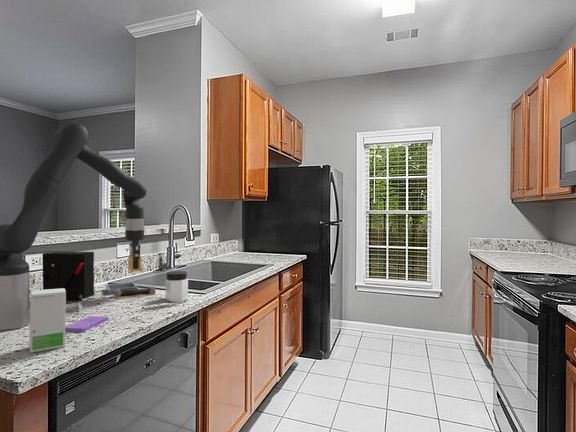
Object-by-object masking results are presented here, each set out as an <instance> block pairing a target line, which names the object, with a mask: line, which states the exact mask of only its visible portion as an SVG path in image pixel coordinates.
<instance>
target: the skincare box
mask: <svg viewBox="0 0 576 432" xmlns="http://www.w3.org/2000/svg"><path fill="white" fill-rule="evenodd" d="M29 294H30V323H29V334H28V335H29V339H28V341H29V342H28V343H29V353H32V354H33V353H37V352H42V351H48V350H54V349H60V348H61V347H62V348H65V347H66V332H65V326H66V309H67V308H66V303H67V301H66V291H65V288H61V289H46V290H43V289H38V290H36V289H35V290H30V291H29ZM62 348H61V349H62Z"/></svg>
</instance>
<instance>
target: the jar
mask: <svg viewBox="0 0 576 432" xmlns="http://www.w3.org/2000/svg"><path fill="white" fill-rule="evenodd" d="M188 298H189V279H188V272H187V271H185V270H174V271H172V270H171V271H168V272H166V279H165V300H167V304H171V305H172V304H184V303H186V302H188V301H189V299H188Z"/></svg>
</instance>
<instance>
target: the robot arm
mask: <svg viewBox="0 0 576 432" xmlns="http://www.w3.org/2000/svg"><path fill="white" fill-rule="evenodd" d="M89 138H90V137H89V131H88V129H87V128H86V127H85V126H84V125H83V124H81V123H78V122H74V123H73V122H71V123H67V124H65V125H63V126H61V127H60V128H58V129H57V130H55V132H54V134H53V140H54V142H55V144H56V145H55V148H54V149H53V150H52V152H50V154H49V155H47V157H46V158H45V159H44V160H43V161H42V162H41V163H40V164H39V166H38V167H37V168H36V169H35V170H34V171H33V173H32V175H30V178H29V180H27V183H26V185H25V188H24V193H23V194H24V195H23V204H22V207H21V210H20V212H19V214H18V216H17V217H16V218H15V220H14V221H13V222H12V224H11V223H10V224H9V223H8V224H6V223H5V224H0V331H8V330H14V329H15V330H16V329H21V328H24V327H25V326H27V325H30V265H29V263H28V262H27V261H26V260H25V259H24V256H23V253H24V252H26V251H28V250H29V249H30V248H31V246H33V244H34V243H35V240H36V237H37V236H38V233H39V230H40V228H41V226H42V223H43V220H44V219H45V216H46V215H47V213H48V212H49V209H50V208H51V206H52V203H53V201H54V200H55V198H56V196H57V195H58V193H59V191H60V189H62V186H63V184H64V182H65V179H66V178H67V176H68V175H69V172H70V171H71V168H72V166H73V165H74V162H75V161H76V159H77V160H79V161H81V162H82V163H85V164H86V165H87V166H88V167H90V168H92V169H93V170H95V172H97V173H98V174H99V175H101V176H102V177H103V178H104V179H106V180H107V181H109V182H110V183H111V184H112V185H113V186H115V187H118V188H120V189H123V192H122V198H123V202H124V206H125V225H124V228H125V233H124V235H125V236H124V237H125V240H126V241H128V242H129V241H130V243H129V244H128V246H129V247H128V248H129V256H133V258H132V260H133V269H138V268H139V259H140V257H141V244H140V242H139V241H144V240H145V221H144V220H145V219H144V214H145V213H144V207H143V206H142V205H141V204H140V200H141V199H143V198H145V197H146V196H147V188H146V186H145V185H144V184H143V183H142V182H141V181H140V180H138V179H136V178H135V177H133V176H131V175H130V174H128V173H127V172H125V170H123V169H122V168H121V167H120V166H119V165H117V164H116V163H115V162H113V160H110V159H108V158H106V157H104V156H102V155H100V154H98V153H97V152H95V151H94V150H92V149H91V148H90V147H88V145H87V144H88V142H89Z"/></svg>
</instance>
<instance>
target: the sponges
mask: <svg viewBox="0 0 576 432" xmlns="http://www.w3.org/2000/svg"><path fill="white" fill-rule="evenodd" d="M108 319H109V316H106V315H105V316H93V315H90V316H87V317H84V318H83V319H80V320H77V321H76V322H72V323H70V324H67V325H65V333H66V332H68V333H70V332H71V333H85V332H87V331H88V330H89V331H90V330H91V329H93V328H94V327H96V326H99V325H101V324H103V323H105V322H107V321H108ZM92 327H93V328H92ZM86 330H87V331H86ZM84 331H85V332H84Z"/></svg>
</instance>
